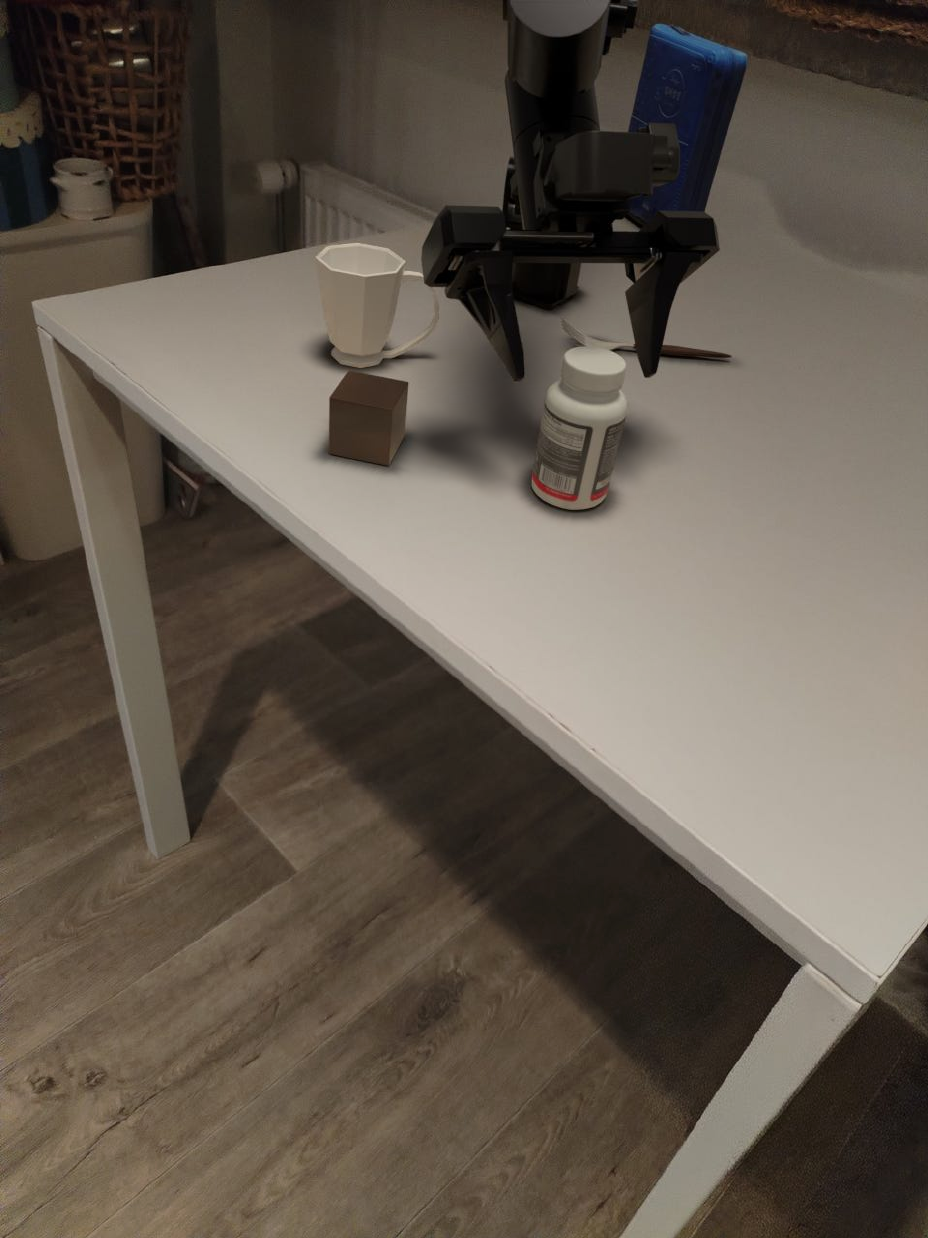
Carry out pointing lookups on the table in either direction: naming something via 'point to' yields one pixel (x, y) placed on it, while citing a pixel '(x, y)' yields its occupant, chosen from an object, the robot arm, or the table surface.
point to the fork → (611, 346)
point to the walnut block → (367, 417)
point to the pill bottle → (581, 429)
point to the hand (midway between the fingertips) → (586, 377)
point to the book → (686, 112)
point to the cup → (364, 301)
